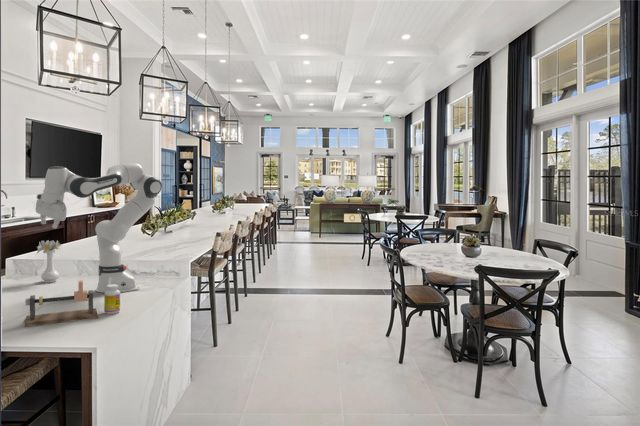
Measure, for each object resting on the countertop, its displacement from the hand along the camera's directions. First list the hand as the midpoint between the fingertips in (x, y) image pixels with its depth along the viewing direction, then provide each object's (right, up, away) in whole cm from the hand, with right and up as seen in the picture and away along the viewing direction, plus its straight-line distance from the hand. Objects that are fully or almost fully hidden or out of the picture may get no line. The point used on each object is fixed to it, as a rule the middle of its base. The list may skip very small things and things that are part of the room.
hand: (48, 226), depth 209 cm
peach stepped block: (+26, -33, -18) cm, 45 cm away
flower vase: (-28, -35, +45) cm, 63 cm away
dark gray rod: (+19, -33, -22) cm, 44 cm away
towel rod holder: (+20, -40, -21) cm, 50 cm away
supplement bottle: (+36, -41, -10) cm, 55 cm away
